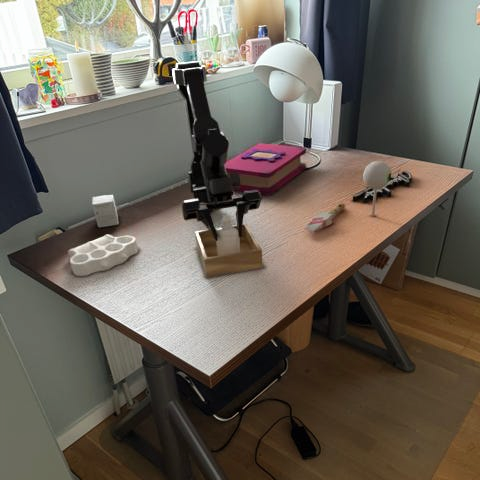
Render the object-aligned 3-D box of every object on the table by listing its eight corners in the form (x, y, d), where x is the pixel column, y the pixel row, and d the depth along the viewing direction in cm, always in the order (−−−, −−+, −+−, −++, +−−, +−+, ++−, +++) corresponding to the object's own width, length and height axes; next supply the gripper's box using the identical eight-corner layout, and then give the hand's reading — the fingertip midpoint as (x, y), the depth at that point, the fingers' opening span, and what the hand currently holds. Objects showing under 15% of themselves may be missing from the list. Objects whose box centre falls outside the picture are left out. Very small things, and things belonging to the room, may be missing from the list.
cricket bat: (301, 223, 122) (336, 200, 135) (301, 233, 124) (336, 209, 137) (314, 226, 120) (349, 202, 133) (314, 236, 122) (348, 211, 135)
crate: (197, 248, 122) (194, 231, 119) (247, 239, 124) (246, 223, 121) (206, 277, 110) (204, 259, 107) (262, 267, 112) (261, 249, 109)
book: (214, 186, 157) (212, 164, 153) (256, 161, 176) (255, 140, 171) (269, 195, 148) (269, 171, 143) (307, 167, 166) (307, 145, 162)
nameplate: (393, 168, 155) (422, 174, 149) (393, 173, 156) (421, 179, 150) (345, 194, 140) (375, 202, 134) (345, 199, 141) (374, 207, 135)
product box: (97, 228, 137) (91, 204, 132) (98, 220, 141) (91, 196, 137) (119, 224, 137) (113, 201, 133) (118, 216, 142) (113, 193, 138)
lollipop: (381, 222, 127) (387, 167, 118) (355, 218, 130) (360, 164, 121) (389, 213, 131) (396, 159, 122) (364, 209, 135) (369, 156, 126)
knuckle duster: (118, 238, 130) (148, 254, 121) (58, 263, 120) (86, 282, 111) (115, 227, 128) (146, 242, 119) (54, 251, 118) (82, 270, 110)
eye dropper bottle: (230, 266, 113) (225, 219, 105) (215, 258, 116) (210, 213, 109) (243, 259, 115) (240, 213, 108) (229, 252, 118) (224, 207, 111)
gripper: (176, 166, 104) (189, 232, 101) (257, 155, 106) (272, 219, 104) (177, 189, 115) (189, 249, 112) (251, 178, 117) (264, 236, 115)
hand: (228, 238), depth 111 cm, fingers closed on eye dropper bottle, 5 cm apart
